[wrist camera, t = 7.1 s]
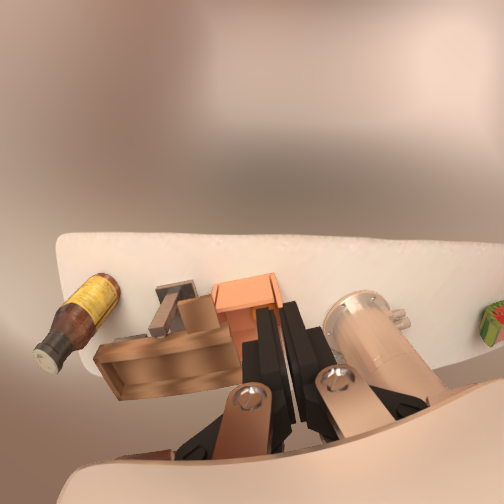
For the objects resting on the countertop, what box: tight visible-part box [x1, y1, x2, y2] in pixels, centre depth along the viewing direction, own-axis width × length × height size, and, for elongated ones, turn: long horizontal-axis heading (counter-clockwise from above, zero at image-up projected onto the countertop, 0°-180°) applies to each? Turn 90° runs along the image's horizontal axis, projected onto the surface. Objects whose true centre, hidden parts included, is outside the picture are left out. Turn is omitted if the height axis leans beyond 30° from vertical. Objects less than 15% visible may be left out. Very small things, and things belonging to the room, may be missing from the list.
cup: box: [212, 273, 286, 362], centre depth 37 cm, size 9×9×14 cm
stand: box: [148, 280, 198, 337], centre depth 38 cm, size 6×12×12 cm, turn 11°
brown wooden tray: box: [93, 294, 242, 401], centre depth 32 cm, size 18×12×6 cm, turn 101°
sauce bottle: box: [33, 273, 120, 375], centre depth 32 cm, size 7×6×20 cm
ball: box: [250, 302, 277, 321], centre depth 41 cm, size 4×4×4 cm
